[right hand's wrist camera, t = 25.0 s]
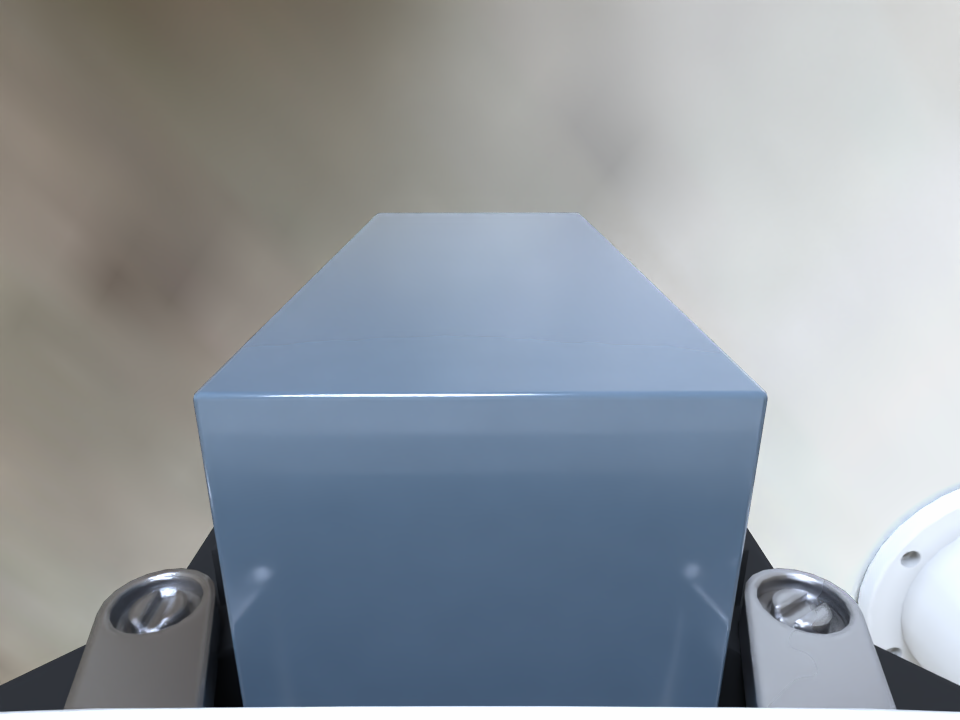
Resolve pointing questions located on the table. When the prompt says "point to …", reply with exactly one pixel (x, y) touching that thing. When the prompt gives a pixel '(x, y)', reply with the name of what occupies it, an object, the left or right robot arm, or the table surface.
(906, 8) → the table surface
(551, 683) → the block
